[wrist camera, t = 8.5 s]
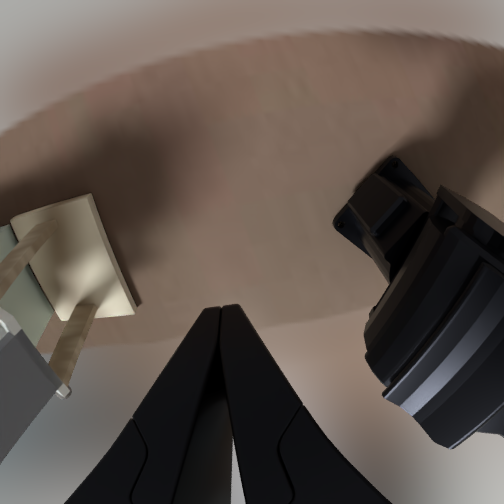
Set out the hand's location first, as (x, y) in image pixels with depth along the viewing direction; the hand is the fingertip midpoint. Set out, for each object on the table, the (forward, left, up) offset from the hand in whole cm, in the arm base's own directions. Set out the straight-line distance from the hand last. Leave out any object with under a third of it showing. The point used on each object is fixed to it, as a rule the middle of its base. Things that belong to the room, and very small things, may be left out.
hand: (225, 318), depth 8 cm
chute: (+8, +15, -6) cm, 18 cm away
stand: (+6, +13, -13) cm, 19 cm away
